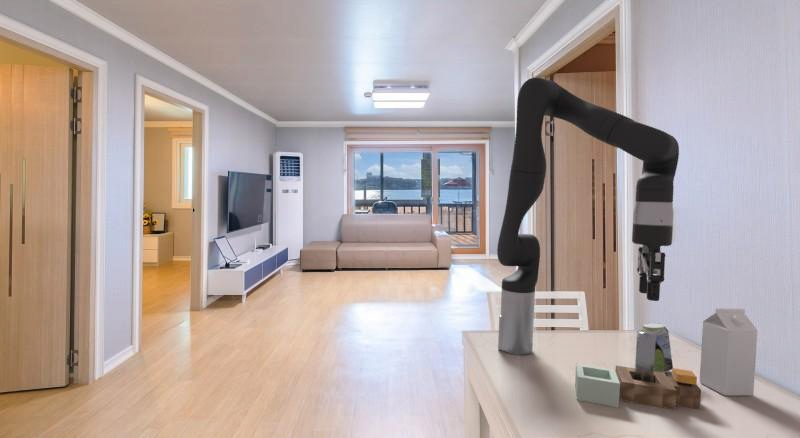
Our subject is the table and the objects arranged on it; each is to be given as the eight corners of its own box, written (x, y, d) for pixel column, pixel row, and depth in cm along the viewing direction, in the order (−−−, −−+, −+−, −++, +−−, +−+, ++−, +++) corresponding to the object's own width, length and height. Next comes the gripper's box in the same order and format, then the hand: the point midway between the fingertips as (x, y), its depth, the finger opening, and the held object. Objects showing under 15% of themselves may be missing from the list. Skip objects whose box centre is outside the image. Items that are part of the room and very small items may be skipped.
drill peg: (635, 396, 91) (638, 333, 90) (632, 390, 94) (635, 329, 94) (654, 399, 90) (657, 336, 89) (650, 393, 93) (653, 331, 92)
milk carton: (699, 382, 100) (703, 304, 99) (726, 382, 100) (731, 305, 100) (724, 396, 93) (729, 312, 92) (753, 396, 93) (759, 312, 93)
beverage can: (676, 376, 103) (679, 329, 102) (644, 373, 104) (647, 326, 104) (666, 367, 109) (668, 322, 109) (635, 364, 110) (638, 319, 110)
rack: (576, 399, 88) (577, 376, 88) (575, 384, 96) (576, 363, 96) (618, 407, 86) (619, 383, 85) (613, 391, 93) (614, 369, 93)
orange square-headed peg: (675, 400, 88) (676, 374, 88) (670, 393, 92) (672, 368, 91) (695, 403, 87) (696, 377, 87) (690, 396, 90) (691, 370, 90)
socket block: (621, 400, 89) (622, 381, 89) (614, 382, 98) (615, 365, 98) (704, 414, 84) (705, 395, 84) (689, 394, 93) (690, 376, 93)
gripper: (681, 224, 83) (677, 305, 83) (664, 223, 96) (660, 292, 97) (639, 223, 85) (635, 301, 86) (627, 221, 99) (624, 289, 99)
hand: (648, 296), depth 91 cm, fingers open, 8 cm apart
